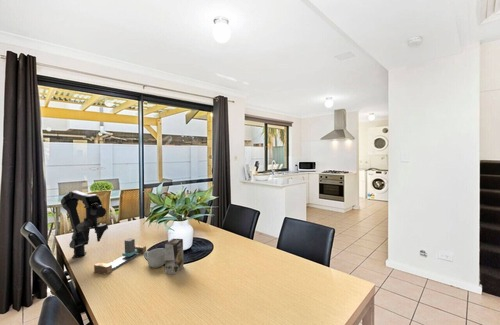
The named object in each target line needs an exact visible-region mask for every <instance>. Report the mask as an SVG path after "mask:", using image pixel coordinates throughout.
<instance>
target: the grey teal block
mask: <svg viewBox="0 0 500 325" xmlns="http://www.w3.org/2000/svg"><path fill="white" fill-rule="evenodd" d="M135 240H136V239H135V238H127V239H125V240H124V252H122V254H121V255H122V256H127V257H130V256H131V255H133V254H135V253H137V250H136V249H135V245H136V243H135ZM122 256H121V257H122Z"/></svg>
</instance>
